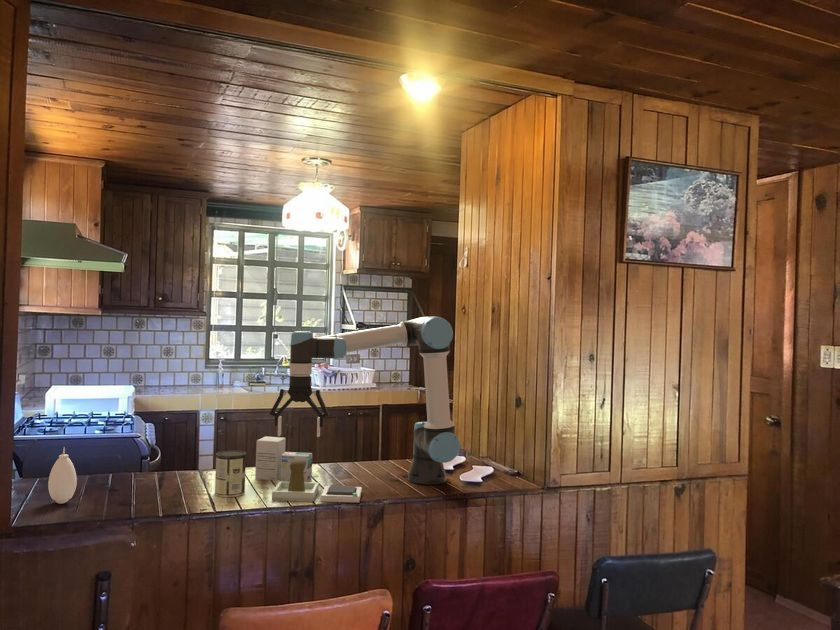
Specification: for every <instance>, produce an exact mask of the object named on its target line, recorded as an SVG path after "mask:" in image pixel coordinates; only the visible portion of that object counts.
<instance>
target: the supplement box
mask: <svg viewBox="0 0 840 630" xmlns="http://www.w3.org/2000/svg"><path fill="white" fill-rule="evenodd" d="M286 440H287V439H286V437H280V436H263V437H262V438H259V439H256V450H255V470H254V471H255V476H254V477H255V478H254V479H255V480H262V481H263V480H266V481H278V480H280V473H281V455H282V454H284V453H285V452H286V443H287V442H286Z"/></svg>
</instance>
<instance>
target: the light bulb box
mask: <svg viewBox="0 0 840 630" xmlns="http://www.w3.org/2000/svg"><path fill="white" fill-rule="evenodd" d="M293 461H303V462H304V463H305V469H304V470H303V474H304V482H312V481H313V475H312V474H313V452H294V451H285V453H284V454H282V455H281V473H280V479H279V482H280V481H282V482H290V476H291V469H290V464H291V462H293Z"/></svg>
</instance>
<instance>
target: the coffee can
mask: <svg viewBox="0 0 840 630" xmlns="http://www.w3.org/2000/svg"><path fill="white" fill-rule="evenodd" d="M246 462H247V452H246V451H243V450H222V451H217V452H216V453H215V475H214V476H215V477H214V479H215V481H214V496H215V497H219V498H236V497H241V496H243V495H245V493H246V491H245V490H246V466H247V465H246V464H247V463H246Z"/></svg>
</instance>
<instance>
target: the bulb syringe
mask: <svg viewBox="0 0 840 630" xmlns="http://www.w3.org/2000/svg"><path fill="white" fill-rule="evenodd" d="M65 452H66V448H65V446H64V447H63V451H62V454H60V455H58V458H57V460H56V461H55V462H54V464H53V466H52V468H51V470H50V473H49V476H48V485H47V487H48V493H49V495H50V498H51V499H52V501H54V502H55V503H57V504H59V505H60V504H65V503H67V502H69V500H71V499H72V497H73V496H74V494H75V491H76V488H77V482H78V481H77V480H78V477H77V473H76V468H75V466H74V463H73V462H72V460H71V459H70V458H69V454H67V453H65Z"/></svg>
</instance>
